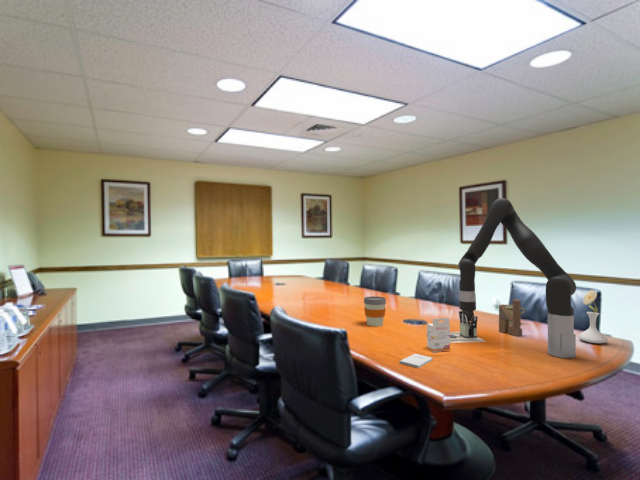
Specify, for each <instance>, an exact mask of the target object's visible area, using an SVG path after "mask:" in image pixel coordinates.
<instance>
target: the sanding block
mask: <svg viewBox="0 0 640 480" xmlns="http://www.w3.org/2000/svg"><path fill="white" fill-rule="evenodd" d="M474 325H475V324H474ZM470 326H471V324H470ZM459 332H460V336H462V337H464V338H477V337H478V327H477V328H474V336H471V337H470V336H469V327H468V324H467V323H460V322H459Z"/></svg>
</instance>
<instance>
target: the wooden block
mask: <svg viewBox="0 0 640 480" xmlns="http://www.w3.org/2000/svg"><path fill="white" fill-rule="evenodd" d="M504 305H505V304H498V332H499V333H502V334H508V335H511V336H515V337H522V336H523V328H522V327H521V326H522V325H521V315H522V314H521V313H522V312H521V308H522V307H521V300H520V299H516V298H514V299H512V305H513V316H512V315H511V314H510V312H509V311H508V310H507V308H506V307H505V306H504ZM509 320H510V321H513V322H512V325H509Z"/></svg>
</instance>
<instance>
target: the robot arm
mask: <svg viewBox="0 0 640 480" xmlns="http://www.w3.org/2000/svg"><path fill="white" fill-rule="evenodd" d="M500 224H501V225H502V226H503V227H504V228H505V229H506V231H507V232H508V233H509V235H510V237H511V239H512V240H513V242H514V244H515V246H516V247H517V249H518V250H519V252H520V253H521V255H523V256H524V258H526V260H527V261H528V262H530V263H531V264H532V265H534V267H536V268H537V269H538V270H539V271H540V272H541V273H543V275H544V276H545V278H546V279H547V280H546V281H547V282H546V283H545V305H546V307H547V354H549V355H551V356H554V357H558V358H561V359H564V358H565V359H567V358H569V359H570V358H577V354H576V353H577V352H576V345H577V344H576V341H577V340H576V337H577V336H576V333H575V330H574V329H575V327H574V325H575V323H574V322H575V317H574V315H575V309H574V307H573V306H572V296H573V295H574V294H575V293H576V291H577V285H576V282H575V280H574V279H573V278H572V276H570V275H569V274H568V273H567V271H565V270H564V269H563V268H562V266H560V264H559V263H558V262H557V260H556V259H555V258H554V257H553V255H552V254H551V253H550V251H549V250H548V249H547V247H546V246H545V244H544V243H543V242H542V240H541V239H540V238H539V236H537V234H536V233H535V232H534V231H533V230H532V229H531V228H530V227H528V226H527V225H526V224H525V223H524V222H523V221H522V219H521V218H520V217H519V215H518V213H517V212H516V210H515V208H514V205H513V203H512V202H511V201H510V200H509V199H508V198H505V197H500V198H497V199H495V200H494V201H493V202H492V204H491V206H490V208H489V211H488V214H487V215H486V218H485V219H484V221H483V223H482V226H481V228H480V229H479V231H478V232H477V234H476V236H475V237H474V239H473V240H472V242H471V244H470V245H469V247H468V248H467V250H466V252H465V253H464V254H463V255H462V257H461V258H460V260H459V261H458V264H457V265H458V267H457V268H458V269H459V284H458V285H459V291H458V292H459V293H458V301H459V303H458V304H459V305H458V306H459V310H460V311H458V316H459V324H460V323H467V324H468V327H469V336H470V337H471V336H474V328H477V329H478V316H475V313H474V311H476V310H477V295H476V282H475V278H476V264H477V262H478V260H479V259H480V258H481V257H483V256H484V254H485V252H486V251H487V249H488V247H489V246H490V243H491V242H492V240H493V237H494V234H495V232H496V230H497V228H498V226H499V225H500ZM470 324H471V326H470ZM474 324H475V325H474Z"/></svg>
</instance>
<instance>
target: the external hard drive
mask: <svg viewBox="0 0 640 480" xmlns="http://www.w3.org/2000/svg"><path fill="white" fill-rule="evenodd" d="M433 359H434V358H433V357H431V356H426V355H424V354H423V355H422V354H418V353H413V354H411V355H409V356H407V357H405V358H402V359H401V360H399V361H398V362H399V364H400V365H405V366H409V367H413V368H416V369H420V368H421V367H423V366H425V365H427V364H428V363H431V362H432V361H433Z"/></svg>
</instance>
